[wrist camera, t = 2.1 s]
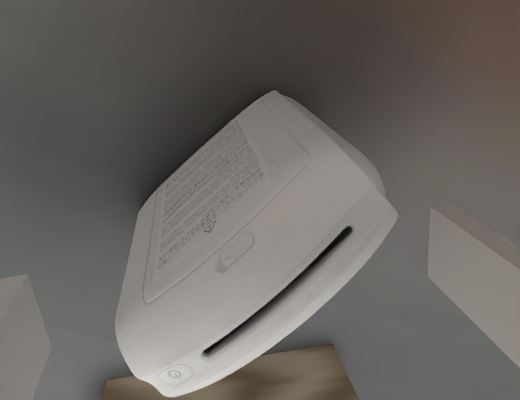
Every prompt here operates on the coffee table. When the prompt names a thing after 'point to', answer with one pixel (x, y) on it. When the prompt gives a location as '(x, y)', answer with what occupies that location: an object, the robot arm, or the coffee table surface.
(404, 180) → the coffee table surface
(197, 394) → the birch box
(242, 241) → the photo printer
